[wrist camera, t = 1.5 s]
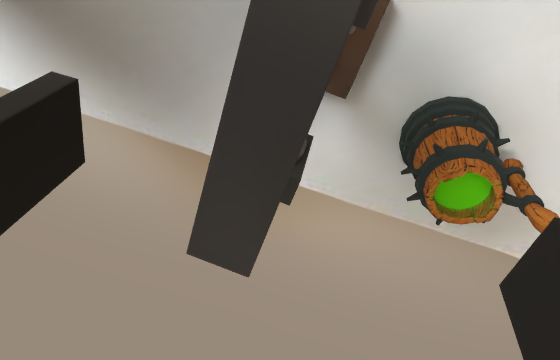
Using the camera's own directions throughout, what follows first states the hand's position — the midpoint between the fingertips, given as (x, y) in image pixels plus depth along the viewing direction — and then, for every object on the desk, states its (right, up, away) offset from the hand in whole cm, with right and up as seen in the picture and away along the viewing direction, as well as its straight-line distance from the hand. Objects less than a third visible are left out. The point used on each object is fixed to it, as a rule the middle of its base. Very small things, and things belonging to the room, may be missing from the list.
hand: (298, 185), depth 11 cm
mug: (+18, +4, +31) cm, 36 cm away
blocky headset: (+1, +9, +19) cm, 21 cm away
